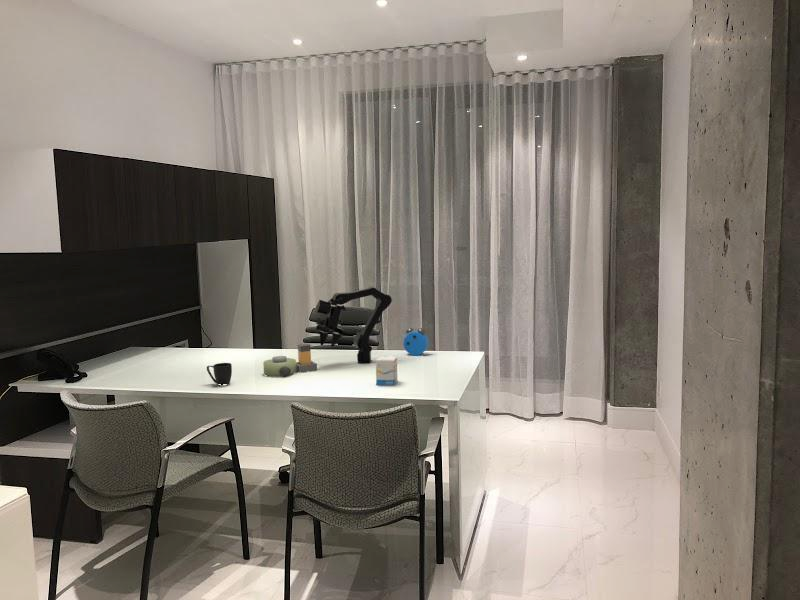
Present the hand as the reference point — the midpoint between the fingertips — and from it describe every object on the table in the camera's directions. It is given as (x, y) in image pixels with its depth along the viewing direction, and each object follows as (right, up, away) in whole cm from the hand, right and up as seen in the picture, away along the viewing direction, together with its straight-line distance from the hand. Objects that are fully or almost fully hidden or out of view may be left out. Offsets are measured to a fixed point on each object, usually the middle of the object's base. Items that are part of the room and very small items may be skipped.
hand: (326, 345), depth 336 cm
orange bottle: (-10, -12, -6) cm, 17 cm away
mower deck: (-18, -12, -9) cm, 23 cm away
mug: (-47, -16, -31) cm, 58 cm away
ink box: (+32, -14, -38) cm, 52 cm away
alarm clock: (+47, -7, +24) cm, 53 cm away
